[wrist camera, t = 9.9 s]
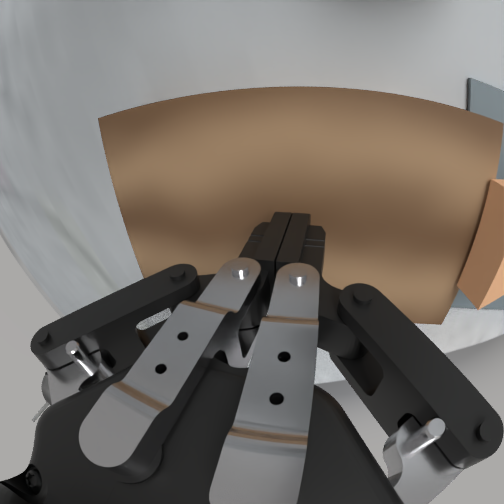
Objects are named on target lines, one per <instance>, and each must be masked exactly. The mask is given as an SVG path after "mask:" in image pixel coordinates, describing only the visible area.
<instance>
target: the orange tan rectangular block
mask: <svg viewBox="0 0 504 504" xmlns="http://www.w3.org/2000/svg"><path fill="white" fill-rule="evenodd" d="M457 286H458V288H459V289H460V290H461V291H462V292H463V293H464V294H465V295H466V297H467V298H468V299H469V300H470V301H471V302H472V304H473V305H474V306H475V307H476V308H477V310H479V309H481V308H483V307H484V306H486V305H488V304H490V303H491V302H493V301H495V300H496V299H498V298H500V297H501V296H503V295H504V179H491V181H490V186H489V190H488V195H487V199H486V203H485V207H484V210H483V214H482V217H481V221H480V224H479V227H478V231H477V234H476V237H475V240H474V243H473V246H472V248H471V251H470V254H469V257H468V259H467V262H466V264H465V267H464V269H463V272H462V274H461V277H460V279H459V281H458V284H457Z"/></svg>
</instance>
